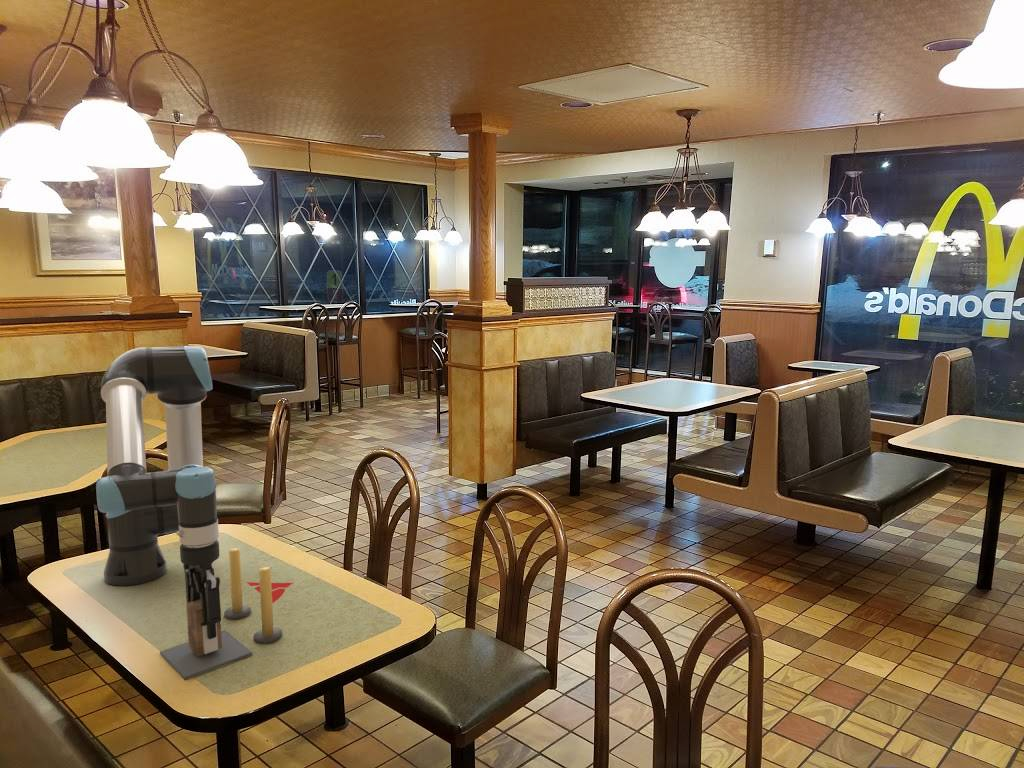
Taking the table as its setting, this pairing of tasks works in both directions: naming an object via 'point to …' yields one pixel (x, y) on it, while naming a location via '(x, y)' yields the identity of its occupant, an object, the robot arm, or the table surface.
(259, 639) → the gate
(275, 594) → the emblem
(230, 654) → the mat
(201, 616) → the block
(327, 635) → the table surface
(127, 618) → the table surface
